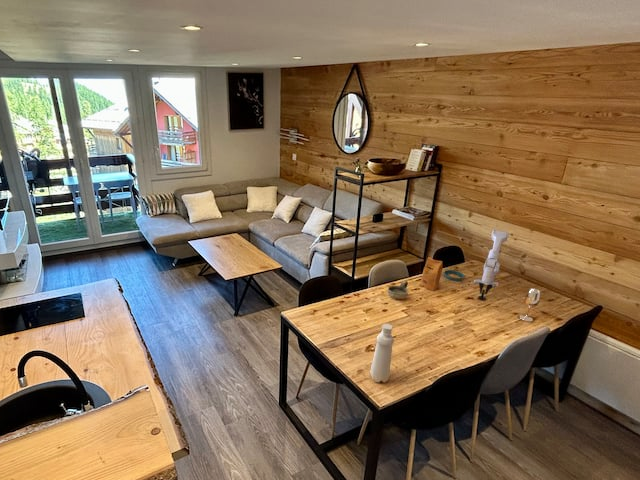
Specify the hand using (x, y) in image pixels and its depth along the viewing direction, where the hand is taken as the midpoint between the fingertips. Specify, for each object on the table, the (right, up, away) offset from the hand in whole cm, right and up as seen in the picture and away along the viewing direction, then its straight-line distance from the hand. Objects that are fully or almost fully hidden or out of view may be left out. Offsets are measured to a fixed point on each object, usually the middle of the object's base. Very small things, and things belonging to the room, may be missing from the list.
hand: (483, 293), depth 266 cm
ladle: (0, -4, +2) cm, 4 cm away
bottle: (-90, -34, -75) cm, 122 cm away
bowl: (-57, -3, +2) cm, 57 cm away
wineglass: (+17, -14, -20) cm, 30 cm away
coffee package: (-31, +3, +17) cm, 35 cm away
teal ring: (-7, +8, +30) cm, 32 cm away
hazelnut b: (-9, +11, +32) cm, 35 cm away
